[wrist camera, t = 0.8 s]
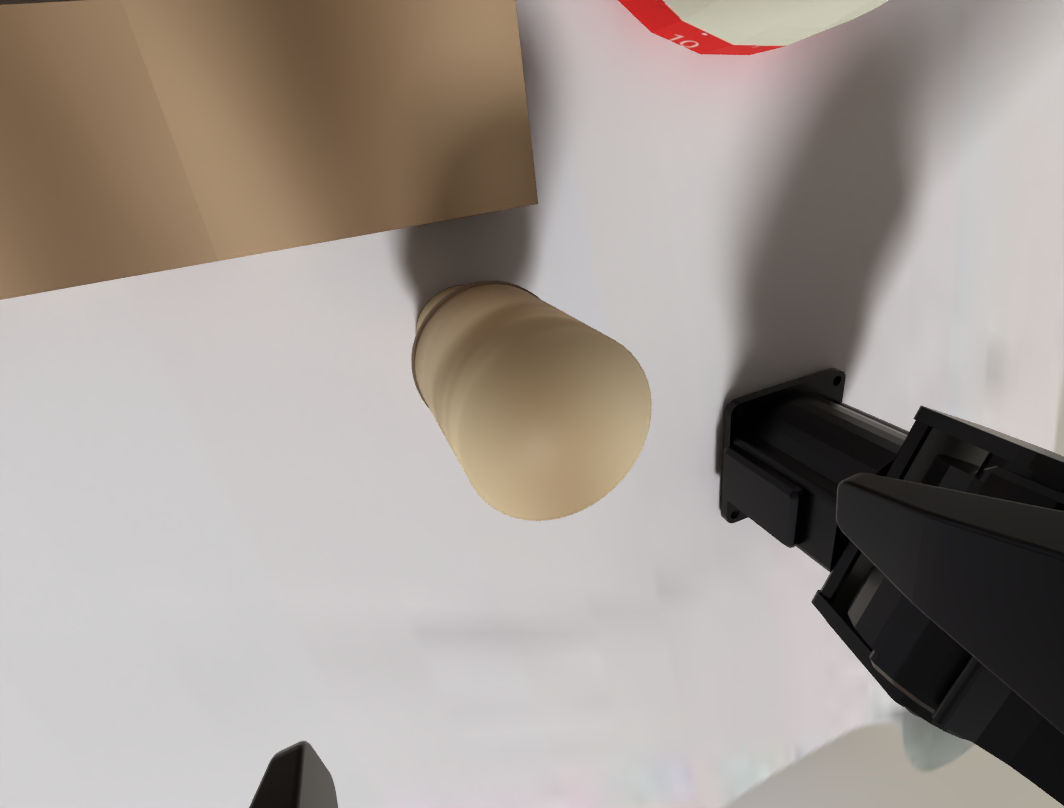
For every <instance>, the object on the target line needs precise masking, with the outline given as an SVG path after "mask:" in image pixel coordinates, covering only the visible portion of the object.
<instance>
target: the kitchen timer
mask: <svg viewBox="0 0 1064 808" xmlns="http://www.w3.org/2000/svg"><path fill="white" fill-rule="evenodd" d="M618 1H619V2H620V3H621V4H622V5H624V6H625V7H626V8H627V9H628V10H629V11H630V12H631V13H632V14H633V15H634V16H635V17H636V18H637V19H638V20H639V21H640V22H641V23H642V24H643V25H644V26H645V27H646V28H648V29H649V30H650V31H651V32H652V33H654V34H657V35H659V36H661V37H663V38H666V39H668V40H670V41H672V42H675V43H677V44H679V45H681V46H684V47H686V48H688V49H690V50H692V51H695V52H697V53H699V54H723V55H751V54H755V53H759V52H764V51H768V50H772V49H776V48H780V47H784V46H787V45H790V44H792V43H795V42H797V41H800V40H802V39H805V38H807V37H810V36H812V35H815V34H817V33H820V32H823V31H825V30H828V29H830V28H833V27H835V26H838V25H840V24H843V23H845V22H848V21H850V20H853V19H855V18H857V17H859V16H861V15H863V14H865V13H867V12H869V11H871V10H873V9H875V8H877V7H879V6H880V5H882V4H884V3H885V2H887V1H889V0H618Z"/></svg>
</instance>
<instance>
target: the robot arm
mask: <svg viewBox="0 0 1064 808" xmlns="http://www.w3.org/2000/svg"><path fill="white" fill-rule="evenodd" d="M844 384H845V373H844V372H843V371H841V370H838V369H835V368H831V369H827V370H824V371H821V372H818V373H815V374H812V375H809V376H806V377H803V378H800V379H796V380H793V381H790V382H787V383H784V384H781V385H778V386H775V387H772V388H769V389H766V390H762V391H759V392H756V393H753V394H750V395H747V396H744V397H741V398H738V399H735V400H733V401H731V402H730V403H729V404H728V405H727V407H726V409H725V418H724V445H723V472H722V499H721V516H722V517H723V518H724V519H725V520H726V521H727V522H729V523H735V522H737V521H740V520H742V519H745V518H747V517H749V518H750V519H752V520H753V521H754V522H756V523H757V524H758V525H759V526H761V527H762V528H763V529H765V530H766V531H767V532H768V533H770V534H771V535H772V536H774V537H775V538H776V539H777V540H779V541H780V542H781V543H783V544H784V545H786V546H787V547H789V548H792V547H795V546H796V547H798V548H799V549H800V550H802V551H803V552H804V553H806V554H807V555H808V556H810V557H811V558H812V559H814V560H815V561H816V562H817V563H819V564H820V565H821V566H823V567H824V568H825V569H827V570H828V571H829V572H831V573H830V575H829V576H828V578H827V580H826V582H825V584H824V585H823V587H822V589H821V590H818V591H817V592H816V594H815V596H814V598H813V600H812V603H813V605H814V606H815V607H816V608H817V609H818V611H819V612H820V613H821V614H822V615H823V617H824V618H825V619H826V621H827V622H828V624H829V625H830V626H831V627H832V628H833V629H834V631H835V632H836V633H837V634H838V635H839V637H840V638H841V639H842V640H843V641H844V642H845V644H846V645H847V646H848V647H849V648H850V650H851V651H852V652H853V653H854V654H855V655H856V657H857V658H858V659H859V660H860V661H861V663H862V664H863V665H864V666H865V667H866V669H867V670H868V671H869V672H870V673H871V674H872V676H873V677H874V678H875V679H876V680H877V682H878V683H879V684H880V685H881V686H882V687H883V689H884V690H885V691H886V692H887V693H888V695H889V696H890V697H891V698H892V699H893V700H894V701H895V702H897V703H898V704H900V705H901V706H903V707H905V708H906V709H907V710H908V711H909V712H911V713H912V714H914V715H916V716H918V717H921V718H923V719H924V720H926V721H927V722H929V723H930V724H932V725H934V726H936V727H938V728H940V729H942V730H943V731H945V732H947V733H950V734H952V735H954V736H957V737H959V738H962V739H966V740H969V741H971V742H973V743H975V744H976V745H978V746H979V747H981V748H983V749H984V750H986V751H987V752H989V753H991V754H992V755H994V756H995V757H997V758H999V759H1000V760H1002V761H1003V762H1005V763H1006V764H1008V765H1009V766H1011V767H1012V768H1013V769H1015V770H1016V771H1018V772H1019V773H1020V774H1022V775H1023V776H1025V777H1026V778H1028V779H1029V780H1030V781H1031V782H1033V783H1034V784H1036V785H1037V786H1038V787H1039V788H1041V789H1042V790H1043V791H1045V792H1046V793H1047V794H1049V795H1050V796H1051V797H1053V798H1054V799H1056V800H1057V801H1058V802H1060V803H1061V804H1062V805H1063V806H1064V457H1063V456H1061V455H1058V454H1056V453H1054V452H1051V451H1049V450H1046V449H1043V448H1041V447H1038V446H1035V445H1033V444H1030V443H1027V442H1025V441H1022V440H1019V439H1016V438H1014V437H1011V436H1008V435H1006V434H1003V433H1000V432H998V431H995V430H992V429H990V428H987V427H984V426H981V425H978V424H975V423H972V422H969V421H966V420H963V419H960V418H957V417H954V416H951V415H948V414H945V413H942V412H939V411H936V410H933V409H930V408H927V407H924V406H920V408H919V410H918V412H917V413H916V415H915V417H914V419H915V420H916V421H915V423H914V425H913V426H912V428H911V430H910V432H909V431H906V430H904V429H902V428H899V427H897V426H895V425H893V424H890V423H888V422H886V421H883V420H881V419H879V418H876V417H874V416H872V415H870V414H867V413H865V412H863V411H860V410H858V409H856V408H854V407H851V406H849V405H847V404H844V403H842V398H843V391H844ZM737 410H738V412H737ZM736 412H737V413H736ZM249 808H338V804H337V797H336V791H335V786H334V782H333V779H332V777H331V774H330V772H329V771H328V769H327V768H326V766H325V765H324V764H323V762H322V761H321V759H320V758H319V756H318V755H317V753H316V752H315V750H314V749H313V748H312V746H311V745H310V744H309V743H308V742H306V741H301V742H298V743H296V744H294V745H292V746H290V747H288V748H286V749H284V750H282V751H280V752H278V753H276V754H275V755H274V757H273V758H272V759H271V761H270V763H269V765H268V767H267V769H266V772H265V774H264V776H263V778H262V780H261V783H260V785H259V787H258V789H257V791H256V794H255V796H254V798H253V800H252V803H251V805H250V807H249Z"/></svg>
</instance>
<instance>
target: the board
mask: <svg viewBox="0 0 1064 808" xmlns="http://www.w3.org/2000/svg"><path fill="white" fill-rule="evenodd" d="M535 204H538V199H537V190H536V181H535V172H534V163H533V154H532V145H531V136H530V127H529V118H528V109H527V100H526V91H525V82H524V74H523V65H522V56H521V47H520V38H519V29H518V20H517V11H516V2H515V0H83V1H64V2H44V3H25V4H5V5H0V300H1V299H7V298H13V297H18V296H24V295H30V294H35V293H41V292H46V291H52V290H58V289H63V288H69V287H74V286H80V285H86V284H91V283H97V282H102V281H108V280H114V279H119V278H125V277H131V276H136V275H142V274H147V273H153V272H159V271H164V270H170V269H175V268H181V267H187V266H192V265H198V264H203V263H209V262H215V261H220V260H226V259H232V258H237V257H243V256H248V255H254V254H260V253H265V252H271V251H276V250H282V249H288V248H293V247H299V246H305V245H310V244H316V243H321V242H327V241H333V240H338V239H344V238H349V237H355V236H361V235H366V234H372V233H377V232H383V231H389V230H394V229H400V228H406V227H411V226H417V225H422V224H428V223H434V222H439V221H445V220H450V219H456V218H462V217H467V216H473V215H478V214H484V213H490V212H495V211H501V210H507V209H512V208H518V207H523V206H529V205H535Z"/></svg>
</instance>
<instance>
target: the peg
mask: <svg viewBox="0 0 1064 808" xmlns="http://www.w3.org/2000/svg"><path fill="white" fill-rule="evenodd" d="M411 359H412V373H413V378H414V381H415V385H416V387H417V390H418V392H419V394H420V396H421V398H422V399H423V401H424V402H425V404H426V405H427V407H428V408H429V409H430V410H431V412H432V414H433V416H434V417H435V419H436V421H437V423H438V425H439V427H440V428H441V430H442V432H443V434H444V436H445V437H446V439H447V441H448V443H449V445H450V447H451V448H452V450H453V452H454V454H455V456H456V457H457V459H458V461H459V463H460V465H461V466H462V468H463V470H464V472H465V474H466V476H467V477H468V479H469V481H470V483H471V485H472V486H473V488H474V489H475V490H476V492H477V493H478V495H479V496H480V497H481V498H482V499H483V500H484V501H485V502H486V503H488V504H489V505H490V506H492V507H493V508H494V509H496V510H498V511H500V512H502V513H503V514H506V515H509V516H511V517H514V518H519V519H524V520H534V521H541V520H552V519H557V518H562V517H565V516H568V515H572V514H574V513H577V512H579V511H581V510H583V509H585V508H587V507H589V506H591V505H593V504H594V503H596V502H597V501H599V500H600V499H602V498H603V497H604V496H606V495H607V494H608V493H609V492H610V491H611V490H613V489H614V488H615V487H616V486H617V485H618V484H619V483H620V482H621V481H622V479H623V478H624V477H625V476H626V474H627V473H628V472H629V471H630V469H631V468H632V466H633V465H634V463H635V461H636V460H637V458H638V456H639V454H640V452H641V450H642V448H643V445H644V443H645V440H646V437H647V434H648V430H649V426H650V419H651V393H650V389H649V384H648V381H647V378H646V376H645V373H644V371H643V369H642V367H641V366H640V364H639V362H638V361H637V360H636V358H635V357H634V356H633V355H632V353H631V352H629V351H628V350H627V349H626V348H625V347H624V346H623V345H621V344H620V343H618V342H616V341H615V340H613V339H611V338H610V337H608V336H606V335H604V334H602V333H601V332H599V331H597V330H595V329H593V328H591V327H590V326H588V325H586V324H584V323H582V322H581V321H579V320H577V319H575V318H573V317H571V316H570V315H568V314H566V313H564V312H562V311H561V310H559V309H557V308H555V307H553V306H551V305H550V304H548V303H546V302H544V301H542V300H541V299H539V298H538V297H537V296H536V295H534V294H533V293H531V292H529V291H528V290H526V289H524V288H522V287H520V286H517V285H515V284H511V283H508V282H502V281H482V282H475V283H472V284H468V285H459V286H454V287H450V288H447V289H445V290H443V291H441V292H439V293H438V294H436V295H435V296H434V297H433V298H431V300H430V301H429V302H428V303H427V304H426V305H425V307H424V308H423V310H422V312H421V313H420V316H419V319H418V322H417V326H416V337H415V340H414V344H413V349H412V358H411Z"/></svg>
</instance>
